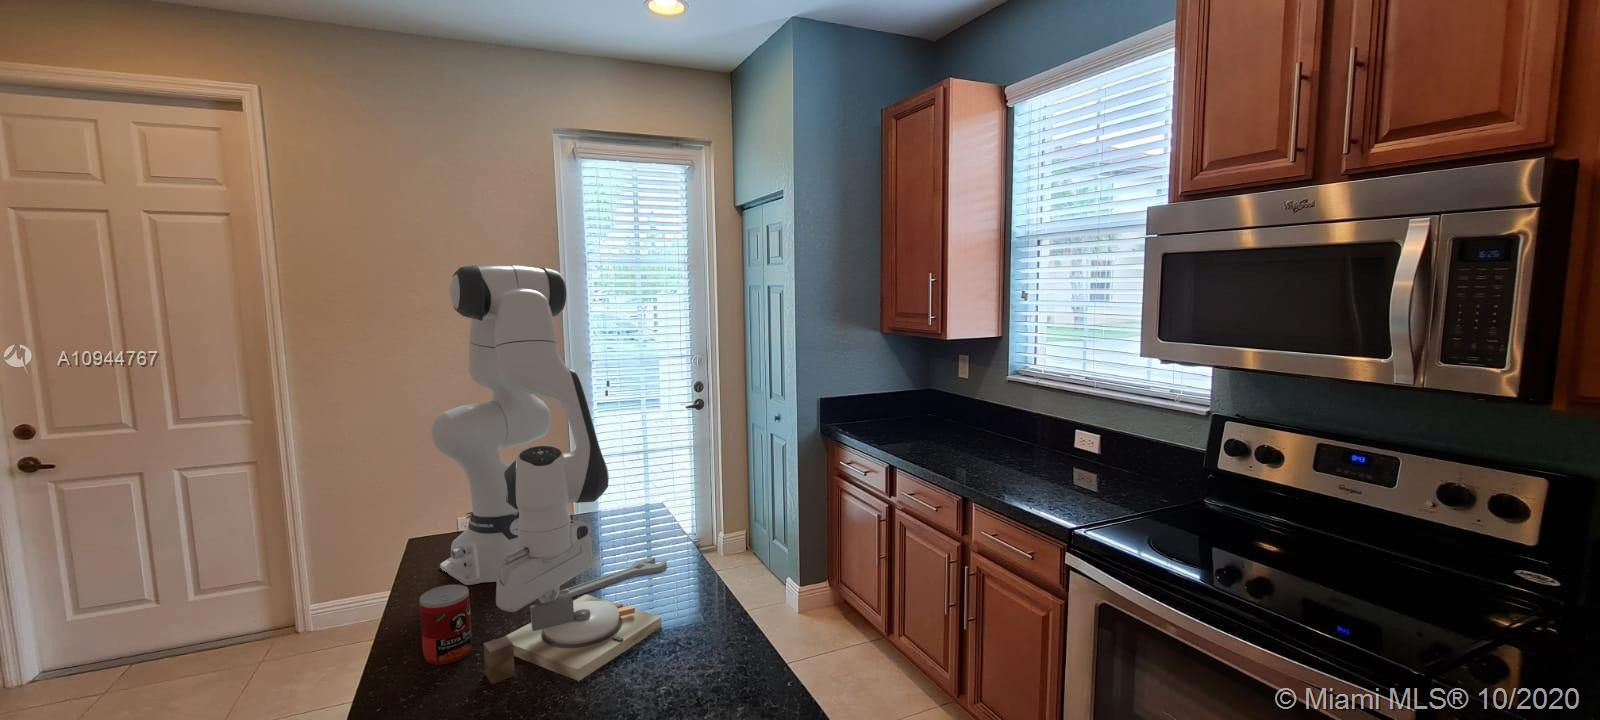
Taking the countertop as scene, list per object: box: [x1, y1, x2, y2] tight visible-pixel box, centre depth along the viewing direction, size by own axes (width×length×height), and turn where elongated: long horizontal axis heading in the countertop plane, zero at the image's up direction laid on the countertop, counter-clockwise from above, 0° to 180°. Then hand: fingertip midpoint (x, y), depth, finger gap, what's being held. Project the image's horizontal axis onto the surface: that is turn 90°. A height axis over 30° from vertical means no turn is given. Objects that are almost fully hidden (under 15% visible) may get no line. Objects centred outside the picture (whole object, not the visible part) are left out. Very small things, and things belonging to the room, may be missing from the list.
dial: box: [529, 597, 635, 644], centre depth 122 cm, size 18×13×6 cm
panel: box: [505, 594, 663, 682], centre depth 123 cm, size 20×20×2 cm
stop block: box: [482, 635, 516, 685], centre depth 111 cm, size 4×4×6 cm
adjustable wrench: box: [556, 557, 668, 600], centre depth 148 cm, size 25×6×2 cm, turn 129°
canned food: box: [419, 584, 473, 665], centre depth 118 cm, size 8×8×11 cm
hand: (549, 611), depth 121 cm, fingers closed
